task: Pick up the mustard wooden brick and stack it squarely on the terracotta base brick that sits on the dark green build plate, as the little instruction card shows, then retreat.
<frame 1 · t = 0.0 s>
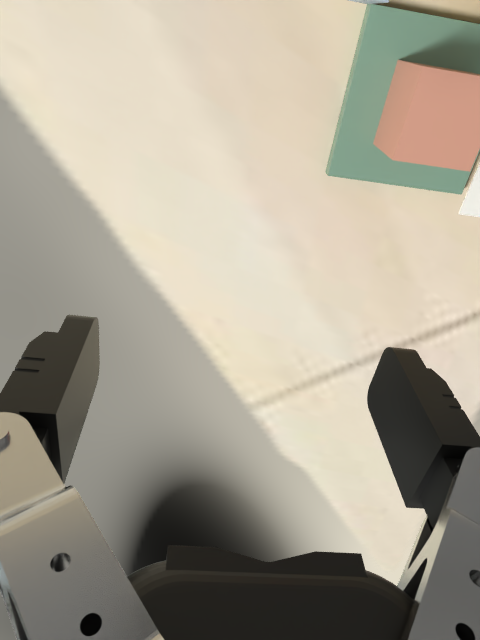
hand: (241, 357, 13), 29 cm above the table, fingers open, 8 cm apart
build plate: (416, 107, 37), on the table
base brick: (421, 109, 36), point 1 cm above the table, touching build plate
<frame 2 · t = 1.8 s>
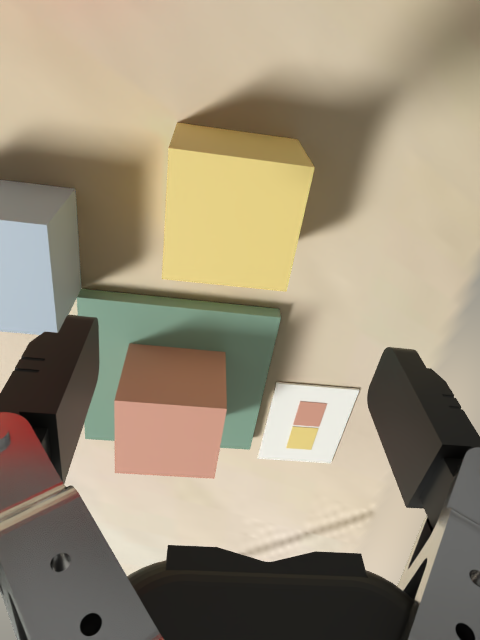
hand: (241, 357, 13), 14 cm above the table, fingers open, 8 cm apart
instruction card: (305, 424, 35), on the table
mustard brick: (230, 189, 24), on the table
slate brick: (23, 234, 25), on the table
build plate: (175, 373, 31), on the table
base brick: (174, 383, 30), point 1 cm above the table, touching build plate
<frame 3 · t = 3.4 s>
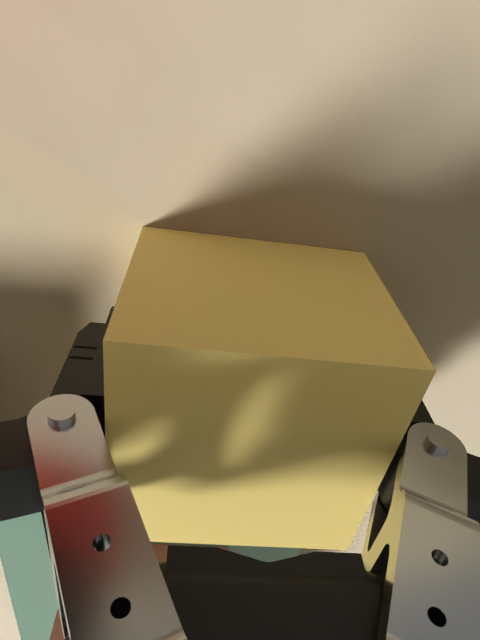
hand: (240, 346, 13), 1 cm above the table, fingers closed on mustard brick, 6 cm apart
mustard brick: (240, 330, 14), on the table, touching gripper
build plate: (153, 559, 21), on the table
base brick: (150, 582, 20), point 1 cm above the table, touching build plate
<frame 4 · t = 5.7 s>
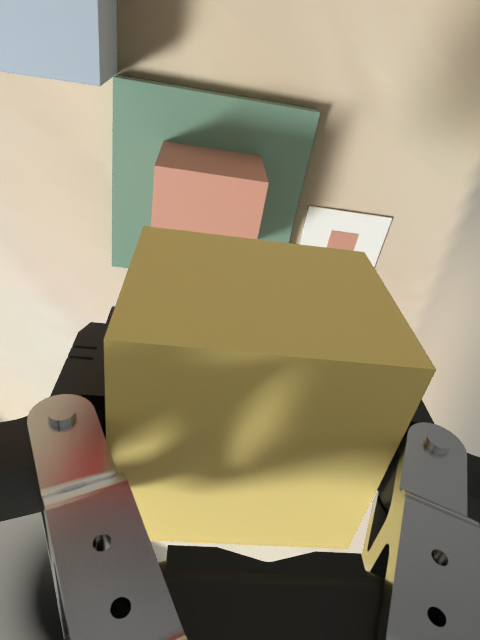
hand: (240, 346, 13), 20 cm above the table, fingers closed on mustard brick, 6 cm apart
instruction card: (334, 262, 34), on the table
mustard brick: (240, 330, 14), point 19 cm above the table, touching gripper
slate brick: (59, 1, 24), on the table
build plate: (207, 190, 31), on the table
base brick: (207, 196, 30), point 1 cm above the table, touching build plate
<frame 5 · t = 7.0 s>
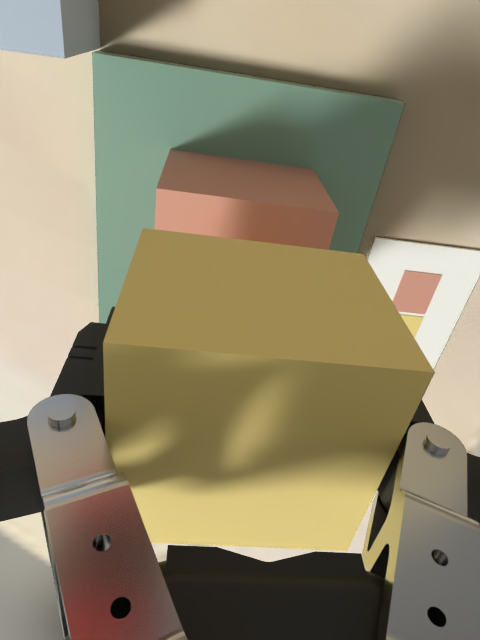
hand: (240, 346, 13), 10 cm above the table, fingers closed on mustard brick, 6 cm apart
instruction card: (405, 311, 25), on the table
mustard brick: (240, 332, 14), point 9 cm above the table, touching gripper
build plate: (232, 218, 21), on the table
base brick: (232, 227, 21), point 1 cm above the table, touching build plate
when the fingers open (8 cm above the table, at t = 7.9 s): mustard brick stays where it is, resting on base brick.
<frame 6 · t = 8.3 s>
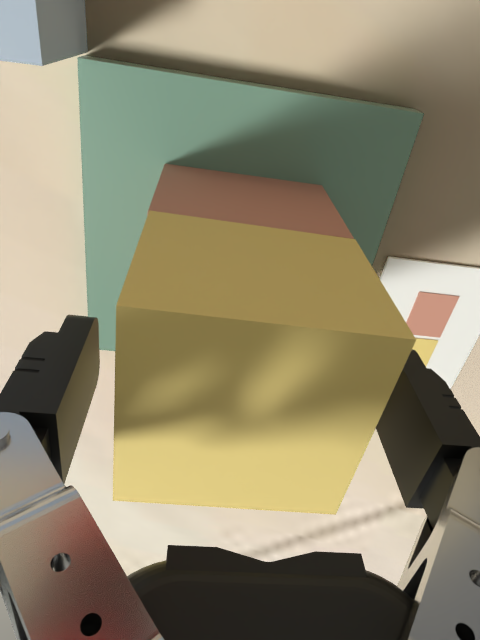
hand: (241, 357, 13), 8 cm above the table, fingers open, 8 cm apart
instruction card: (418, 334, 23), on the table
mustard brick: (238, 312, 15), point 6 cm above the table, touching base brick
build plate: (233, 237, 20), on the table
base brick: (233, 247, 19), point 1 cm above the table, touching build plate, mustard brick
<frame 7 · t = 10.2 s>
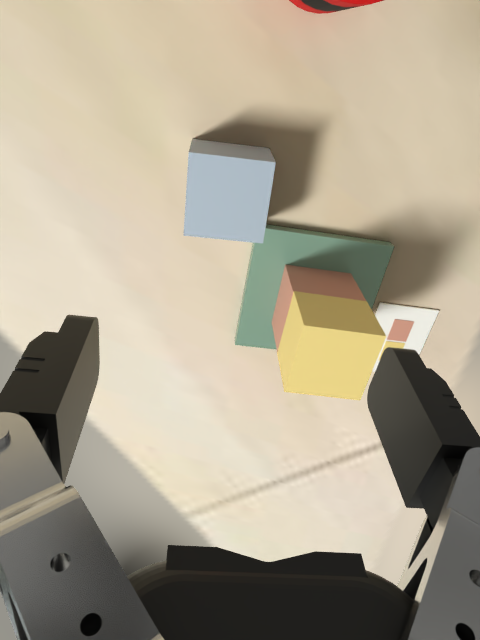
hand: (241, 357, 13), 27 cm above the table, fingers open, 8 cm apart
instruction card: (395, 340, 46), on the table
mustard brick: (320, 327, 38), point 6 cm above the table, touching base brick
slate brick: (226, 181, 37), on the table
build plate: (308, 293, 43), on the table
base brick: (310, 298, 42), point 1 cm above the table, touching build plate, mustard brick
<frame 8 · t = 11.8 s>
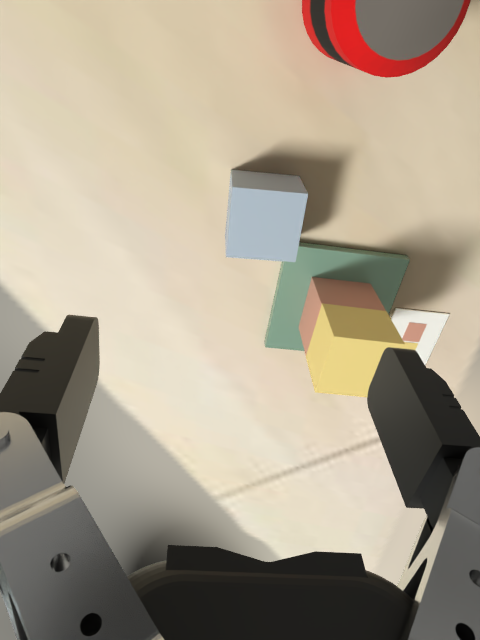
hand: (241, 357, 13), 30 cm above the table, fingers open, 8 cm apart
instruction card: (409, 340, 51), on the table
mustard brick: (344, 334, 43), point 6 cm above the table, touching base brick
soda can: (352, 1, 34), on the table
slate brick: (260, 205, 42), on the table
build plate: (331, 300, 48), on the table
base brick: (333, 305, 47), point 1 cm above the table, touching build plate, mustard brick
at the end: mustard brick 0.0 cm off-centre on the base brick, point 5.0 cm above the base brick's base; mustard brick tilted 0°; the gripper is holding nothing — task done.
